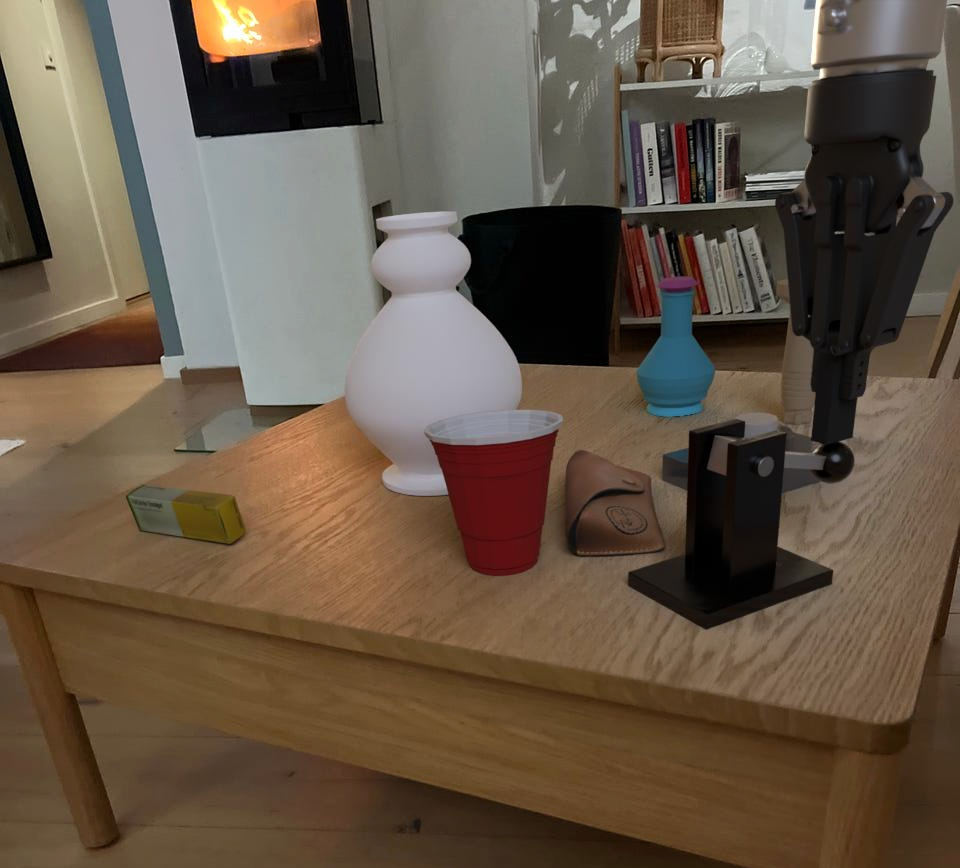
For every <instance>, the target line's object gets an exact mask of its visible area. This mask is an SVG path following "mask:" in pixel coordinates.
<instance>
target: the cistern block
mask: <svg viewBox="0 0 960 868" xmlns="http://www.w3.org/2000/svg"><path fill="white" fill-rule="evenodd" d="M777 430H778V431H781V432H785V433H787V437H786V449H785V451H786V452H801V453H813V451H814V450H815V449H816V448H817V447H818V446H819V445H821V443H818V442H814V441H811V436H807V435H804V434H801V433H798V432H794V431H793V430H792V429H791V428H790V427H789V426H785V425H781V424H779V423H778V429H777ZM661 463H662V467H661V468H662V469H661V474H662V475H661V480H662V482H664V483H667V484H670V485H671V486H672V485H673V486H675V487H677V488H680V489H682V490H685V491H687V478H688V447H685V448H682V449H678V450H675V451H671V452H666V453H664V454H663V453H662V462H661ZM818 483H822V482H821V481H819V480H817V479H816V478H815V477H814V476H813V474H812V472H811V470H810V469H798V468H784V474H783V486H782V494H785V493H788V492H791V491H795V490H798V489H802V488H804V487H808V486H811V485H815V484H818Z"/></svg>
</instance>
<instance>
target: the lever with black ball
mask: <svg viewBox="0 0 960 868" xmlns="http://www.w3.org/2000/svg"><path fill="white" fill-rule="evenodd" d="M741 439H745V438H743V437H730V436H715V437H714V441H713V445H712V449H711V453H710V457H709V461H708V466H707V469H708V470H711V471H714V472H717V473H719V474H722V475H725V476H726V468H727V448H728V443H730V442H734V441H737V440H741ZM855 460H856V459H855V453H854V452H853V450H852V448H851V447H849V445H848V444H846V443H845V442H842V441H839V442H835V443H831V444H828V445H825V444H821V445H819V446H818V447H817V448H816V449H815V450H814V451H813V453H801V452H786V451H785V461H784V468H798V469H810V470H811V472H812V474H813V476H814V477H815V478H816V479H817V480H819V481H821V482H820V483H823V484H828V485H831V484H832V485H833V484H838V483H841V482H842V481H844V480H846V479H847V478H848V477H849V476H850V475H851V473H852V472H853V470H854V467H855V462H856V461H855Z"/></svg>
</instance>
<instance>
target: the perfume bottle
mask: <svg viewBox="0 0 960 868" xmlns="http://www.w3.org/2000/svg"><path fill="white" fill-rule="evenodd" d="M698 285H699V283H698V281H697V280H696V279H695V278H694V277H692V276H687V275H686V276H685V275H684V276H681V275H679V276H668V277H664V278H662V279H661V280H660V282H659V283H658V284H656V286H657V287H658V288H660V289H661V290H660V291H659V295H660V296H661V308H660V309H661V315H660V316H661V317H660V319H661V320H660V335H659V338H658V339H657V340H656V342H655V343H654V345H653V346H652V348H651V349H650V351H649V352H648V354H647V355H646V356H645V357H644V359H643V361H642V362H641V363H640V365H639V366H638V368H636V380H637V384H638V387H639V389H640V391H641V393H642V399H644V401H646V402H647V403H648V405H647V407H646V412H647V413H649V414H651V415H653V416H658V417H666V418H676V417H675V416H680V417H685V416H684V415H688V416H691V415H690V414H693V415H695V413H696V414H699V413H700V412H702V411H703V404H702V401H703V400H705V399H706V398H707V396H708V393H709V390H710V388H711V386H712V384H713V381H714V379H715V374H716V367H715V365H714V364H713V362H712V360H711V359H710V358H709V357H708V355H707V354H706V352H705V351H704V349H703V348H702V347H701V345H700V344H699V343H698V341H697V340H696V338H695V336H694V335H693V310H694V309H693V307H694V295H695V293H696V289H695V288H694V287H696V286H698ZM698 412H699V413H698ZM673 416H674V417H673Z"/></svg>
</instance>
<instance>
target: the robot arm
mask: <svg viewBox="0 0 960 868" xmlns="http://www.w3.org/2000/svg"><path fill="white" fill-rule="evenodd" d="M947 2H948V0H815V8H814V18H813V19H814V21H813V32H812V44H811V45H812V46H811V59H810V66H811V67H812V69H813V70H819V77H818V78H819V79H815V80H812V81H811V86H808V87H807V98H806V110H805V120H804V121H805V123H804V132H803V133H804V134H803V135H804V136H803V137H804V140H805V142H806V143H807V144H808V145H810V146H811V154H810V157H809V160H808V161H807V164H806V166H805V169H804V173H803V175H804V176H803V181H802V182H800V183H799V184H798V185H797V186H796V187H795V188H794V189H793V190H792V191H790V192H782V193H779V194H778V195H777V196H776V198H775V201H774V206H775V210H776V212H777V215H778V218H779V221H780V223H781V226H782V229H783V238H784V251H785V261H786V263H785V264H786V274H787V279H788V287H789V298H790V304H789V311H790V310H791V321H792V330H793V333H794V335H796V336H803V337H805V338H806V339H808V340H809V341H810V344H811V346H812V347H813V349H814V352H813V363H812V373H811V376H812V377H811V390H812V392H816V394H815V404H814V407H813V415H812V425H811V426H812V427H811V436H810V437H811V441H814V442H818V443H821V444H825V445H828V444H831V443H835V442H842V441H846V440H850V439H853V438H854V437H853V436H854V429H855V421H856V414H857V404H858V398H861V397H864V395H865V392H866V389H867V381H868V375H869V374H868V373H869V365H870V358H871V353H872V351H873V350H874V349H875V348H878V347H881V346H885V345H888V344H893V343H895V342H896V341H898V339H899V337H900V334H901V331H902V328H903V325H904V324H905V323H904V322H905V320H906V316H907V313H908V311H909V308H910V305H911V302H912V300H913V296H914V293H915V290H916V288H917V285H918V283H919V279H920V276H921V273H922V270H923V267H924V264H925V261H926V258H927V255H928V253H929V250H930V247H931V244H932V241H933V238H934V235H935V233H936V231H937V229H938V228H939V226H940V225H941V224H942V222H943V221H944V219H945V218H946V216H947V215H948V214H949V212H950V211H951V209H952V208H953V206H954V196H953V194H952V192H949V191H940V192H938V191H936V190H935V189H934V188H933V187H932V186H931V185H930V184H929V183H927V181H925V179H924V178H923V175H924V162H923V159H922V156H921V143H922V140H923V138H924V137H925V135H926V134H927V133H928V131H929V129H930V126H931V119H932V112H933V106H934V105H933V104H934V97H935V91H936V90H935V89H936V82H937V75H934V69H927V68H928V64H929V61H930V60H931V59H932V60H933V59H936V58H937V57H938V56H939V55H940V54H941V52H942V43H943V36H944V29H945V22H946V21H945V20H946V12H947ZM898 218H899V219H898ZM897 220H898V222H897ZM808 315H810V317H808Z"/></svg>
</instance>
